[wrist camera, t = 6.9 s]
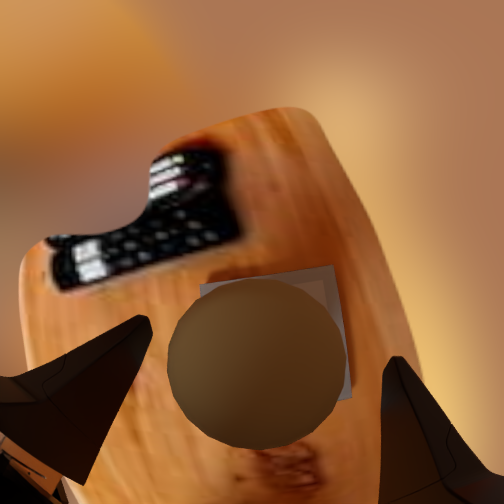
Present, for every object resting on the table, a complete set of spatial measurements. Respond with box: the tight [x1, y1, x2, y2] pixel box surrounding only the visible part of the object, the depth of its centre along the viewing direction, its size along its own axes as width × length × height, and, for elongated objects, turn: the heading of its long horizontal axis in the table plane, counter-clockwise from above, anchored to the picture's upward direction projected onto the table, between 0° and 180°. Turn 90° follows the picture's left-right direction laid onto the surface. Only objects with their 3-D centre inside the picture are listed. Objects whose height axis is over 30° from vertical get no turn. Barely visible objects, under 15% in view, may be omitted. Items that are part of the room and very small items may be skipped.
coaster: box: [200, 265, 352, 401], centre depth 17 cm, size 9×9×1 cm
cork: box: [167, 278, 347, 450], centre depth 11 cm, size 6×6×11 cm
